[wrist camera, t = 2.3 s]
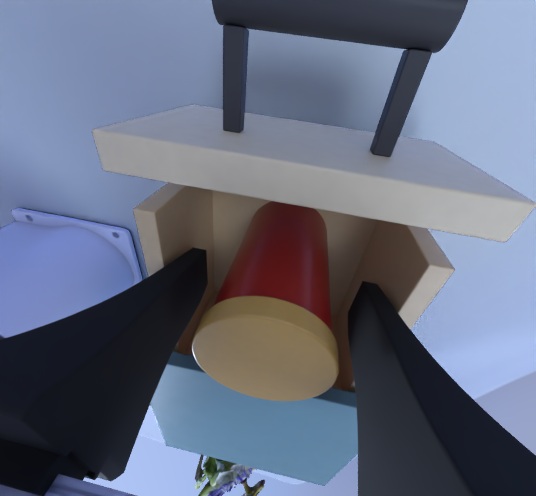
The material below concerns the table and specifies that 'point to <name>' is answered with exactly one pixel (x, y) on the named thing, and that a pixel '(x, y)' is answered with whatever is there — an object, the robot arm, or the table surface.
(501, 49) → the table surface
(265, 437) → the cabinet
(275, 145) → the drawer
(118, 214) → the table surface
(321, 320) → the tea tin
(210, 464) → the passion flower
